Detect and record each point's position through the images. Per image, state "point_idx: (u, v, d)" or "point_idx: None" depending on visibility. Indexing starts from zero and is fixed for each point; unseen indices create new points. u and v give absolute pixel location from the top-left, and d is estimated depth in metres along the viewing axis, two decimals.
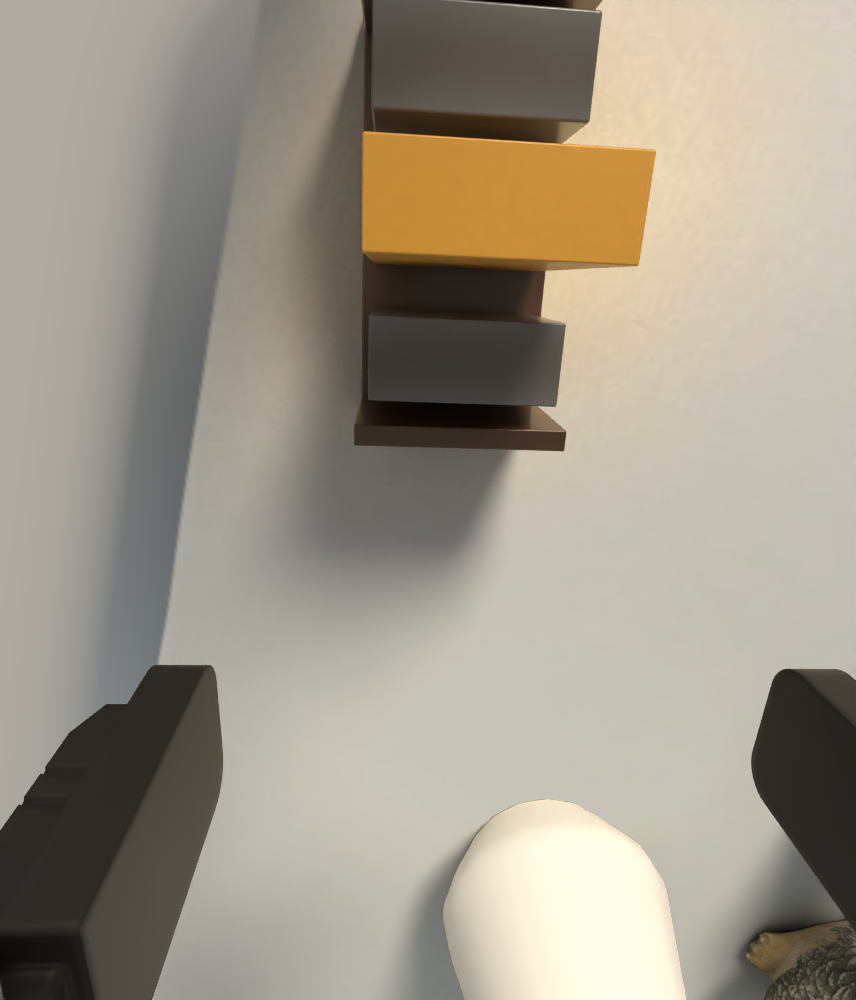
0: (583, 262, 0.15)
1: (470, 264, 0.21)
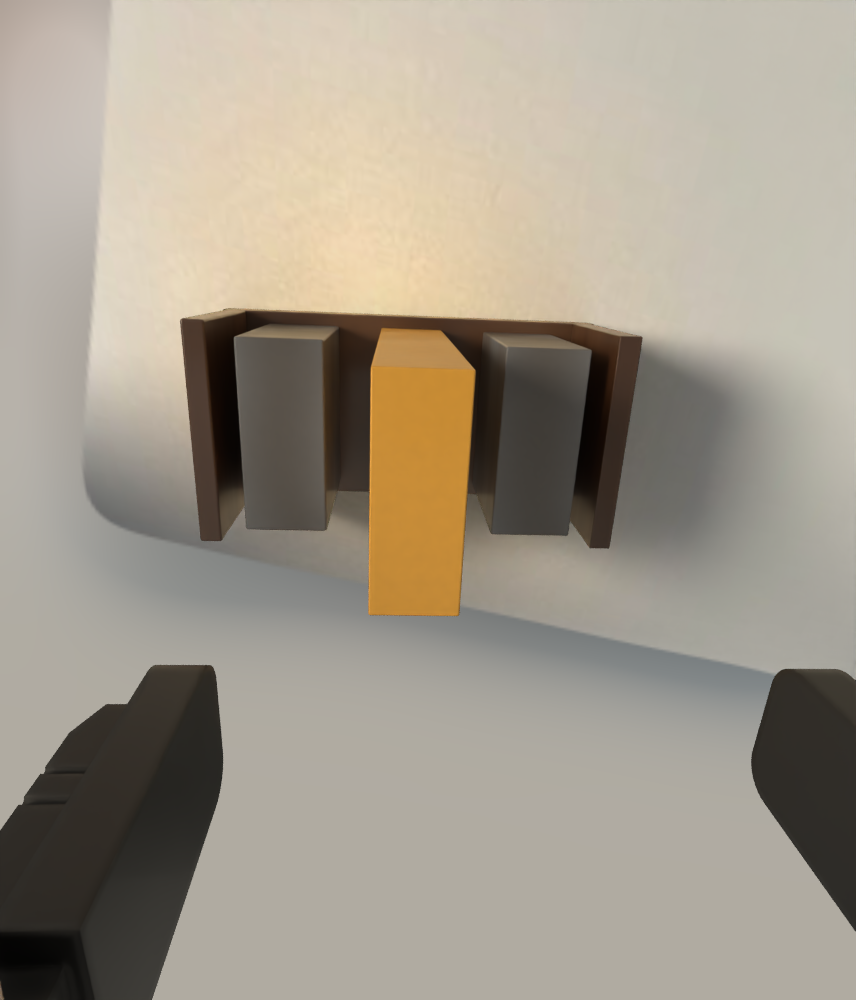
0: (471, 426, 0.15)
1: None
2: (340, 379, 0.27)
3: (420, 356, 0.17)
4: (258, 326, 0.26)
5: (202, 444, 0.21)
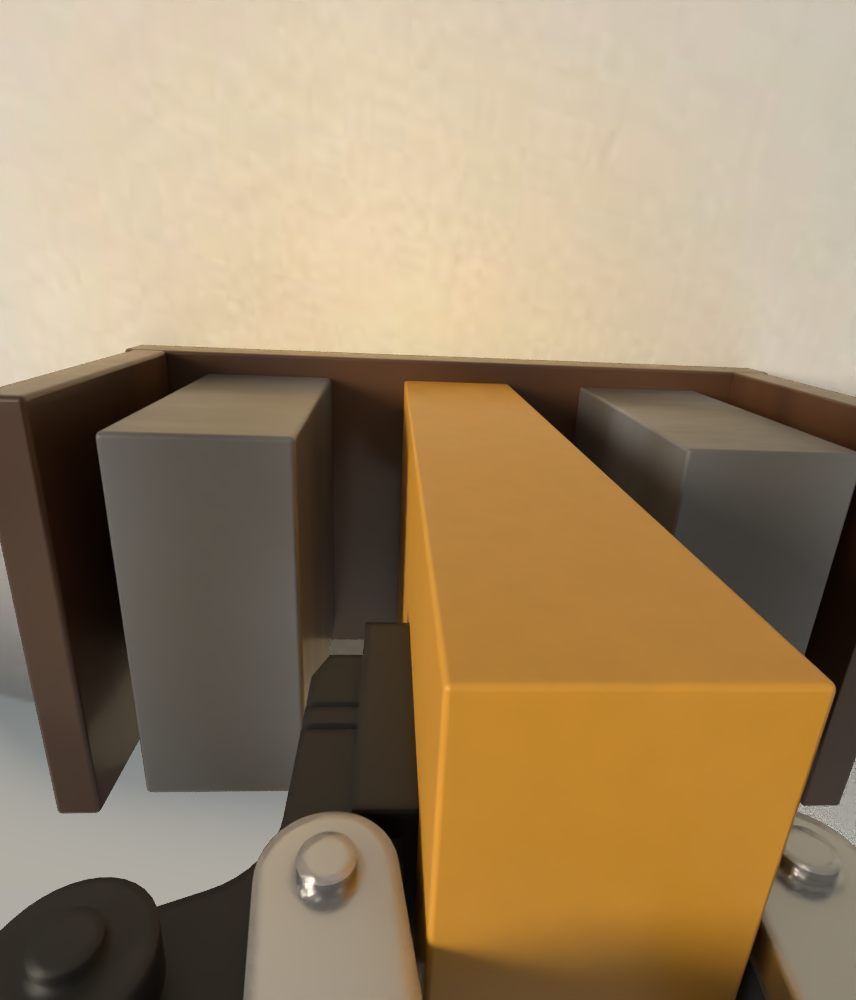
0: (783, 848, 0.04)
1: None
2: (334, 466, 0.16)
3: (557, 541, 0.06)
4: (189, 378, 0.15)
5: (44, 646, 0.10)
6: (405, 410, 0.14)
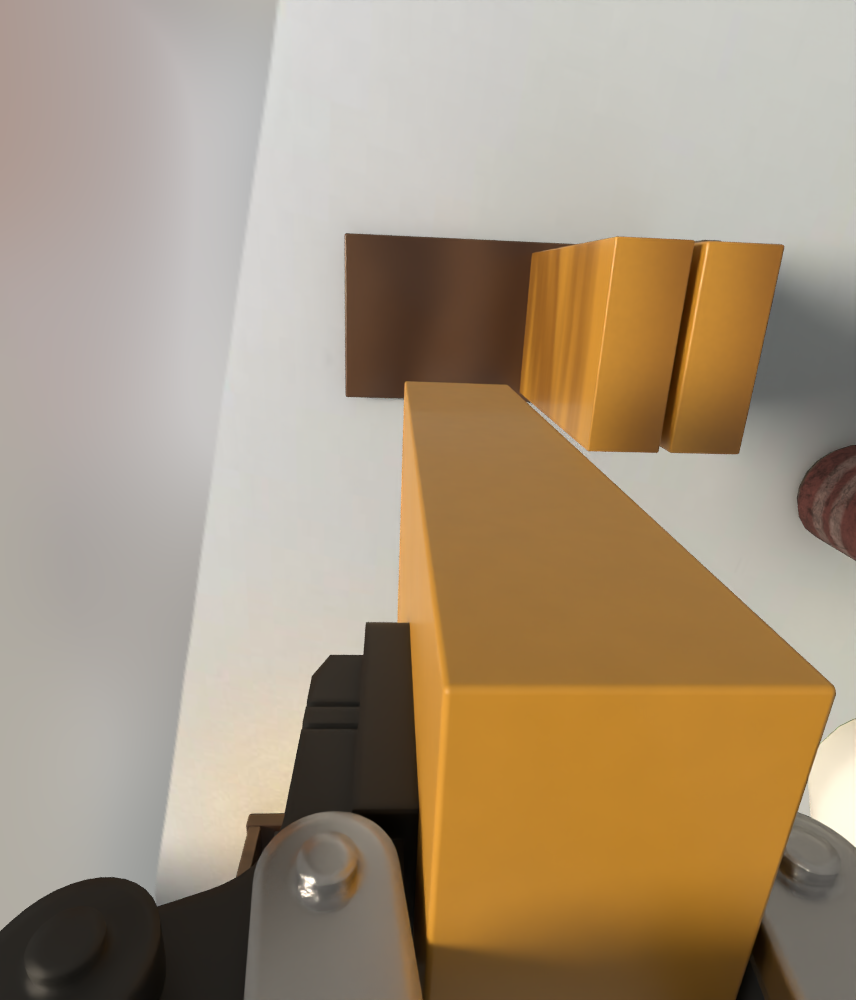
0: (783, 850, 0.04)
1: None
2: None
3: (557, 543, 0.06)
4: (268, 832, 0.42)
5: None
6: (405, 411, 0.14)
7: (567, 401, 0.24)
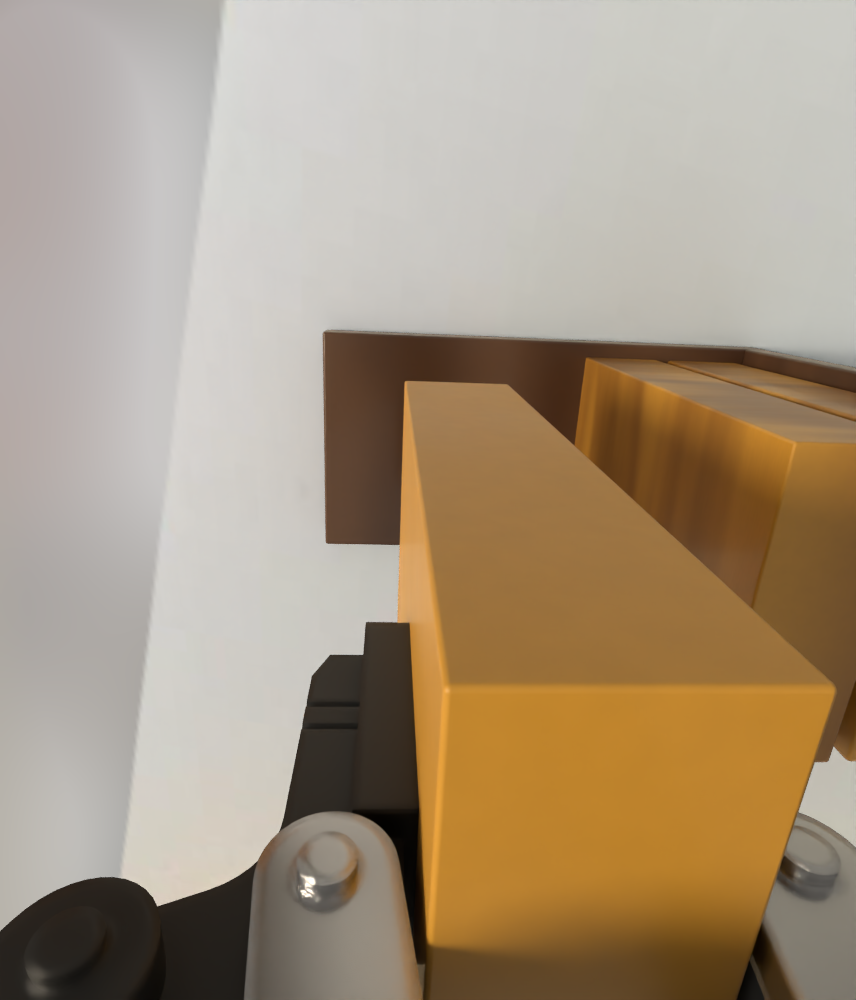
0: (784, 850, 0.04)
1: None
2: None
3: (557, 542, 0.06)
4: None
5: None
6: (405, 410, 0.13)
7: None
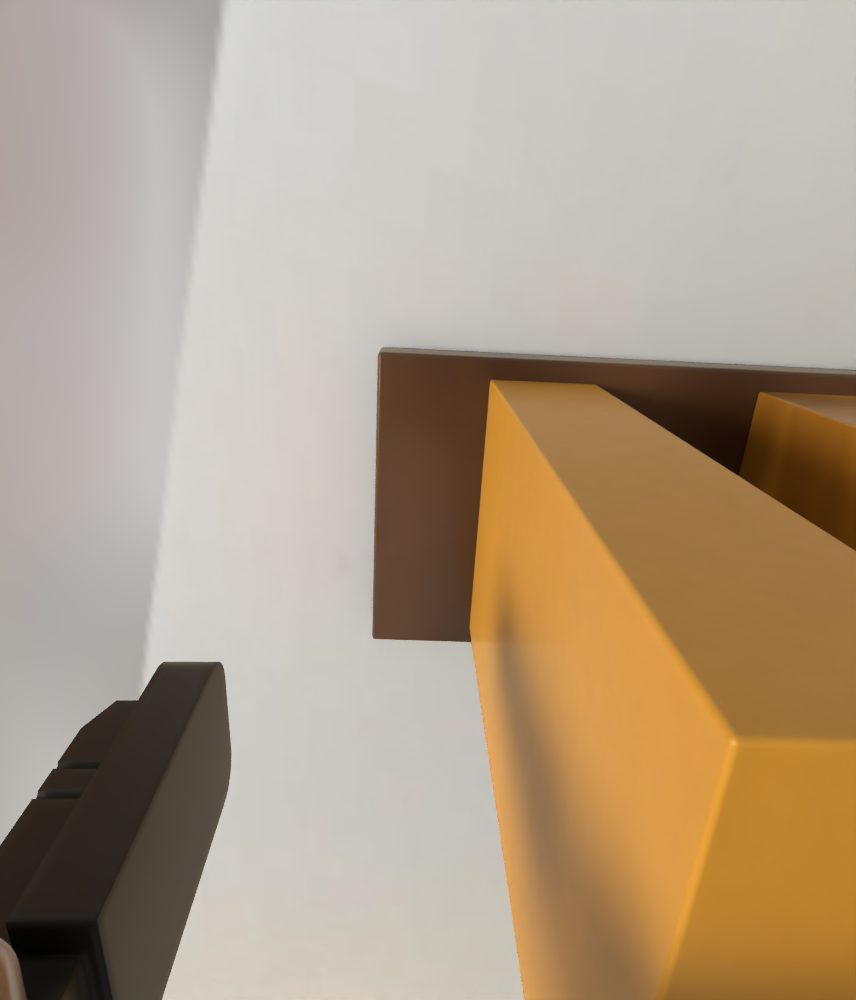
0: None
1: None
2: None
3: (754, 566, 0.06)
4: None
5: None
6: (497, 411, 0.13)
7: None
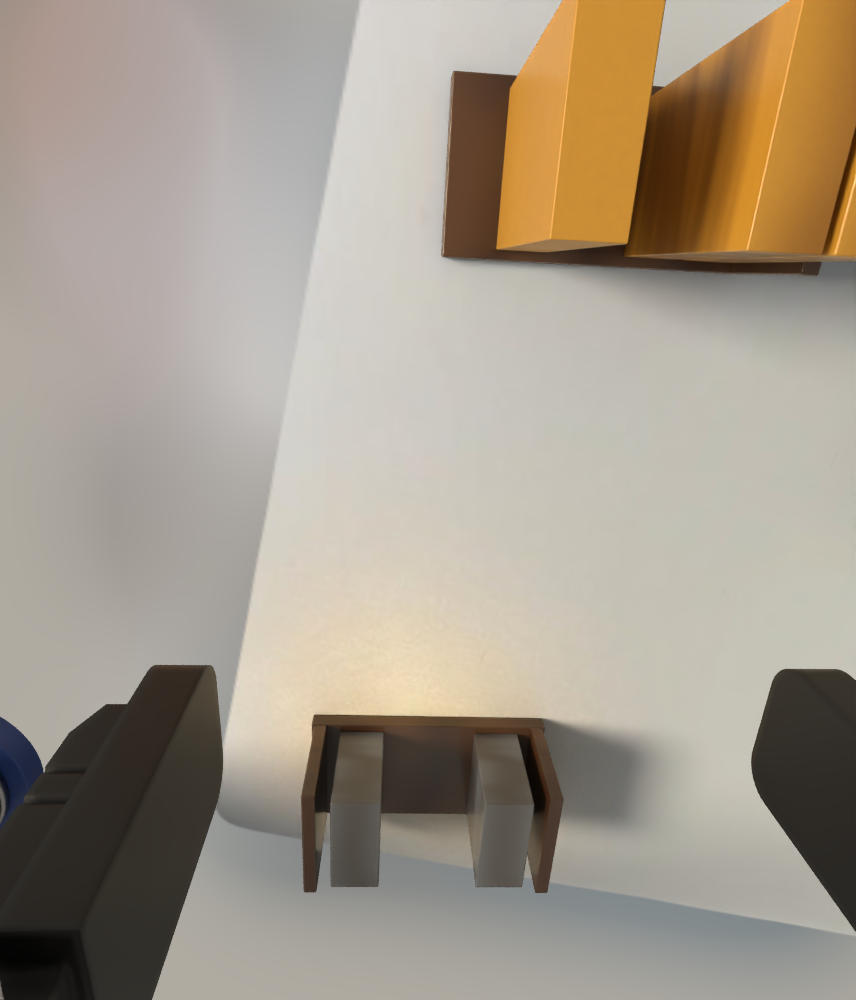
0: (659, 38, 0.18)
1: None
2: (383, 758, 0.42)
3: None
4: (333, 732, 0.41)
5: (308, 849, 0.37)
6: (515, 87, 0.27)
7: (710, 217, 0.22)
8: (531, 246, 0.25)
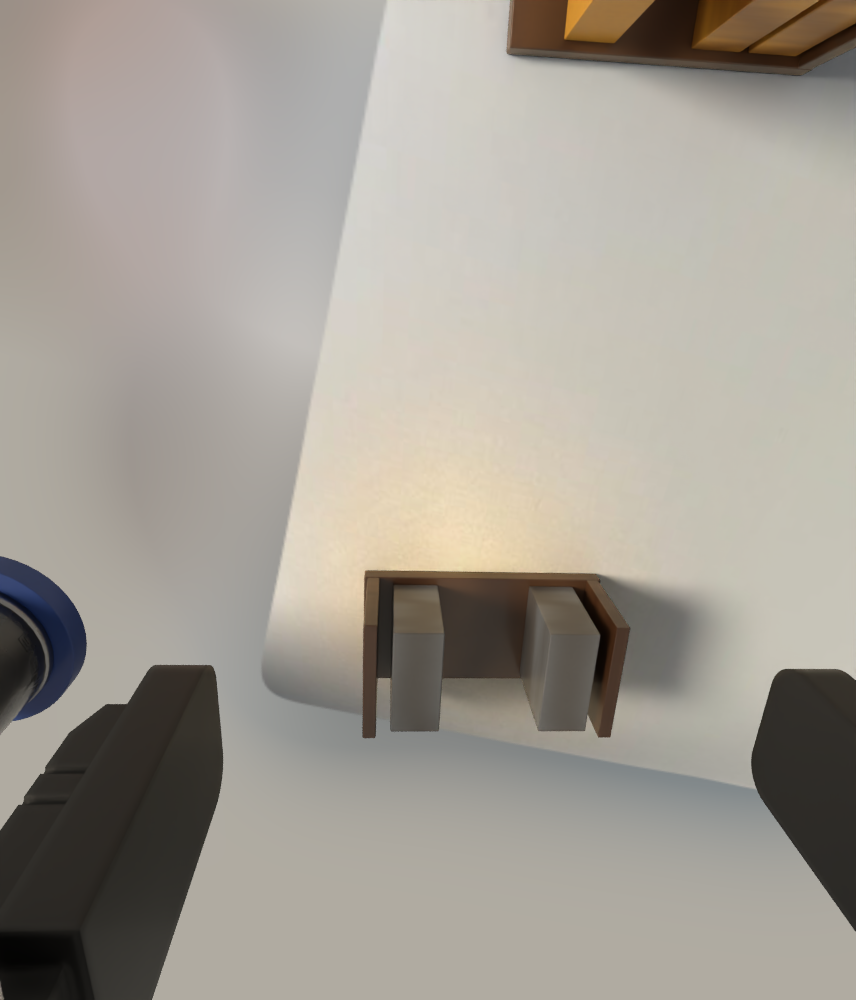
0: None
1: None
2: None
3: None
4: (386, 586, 0.40)
5: (369, 687, 0.36)
6: None
7: None
8: None
